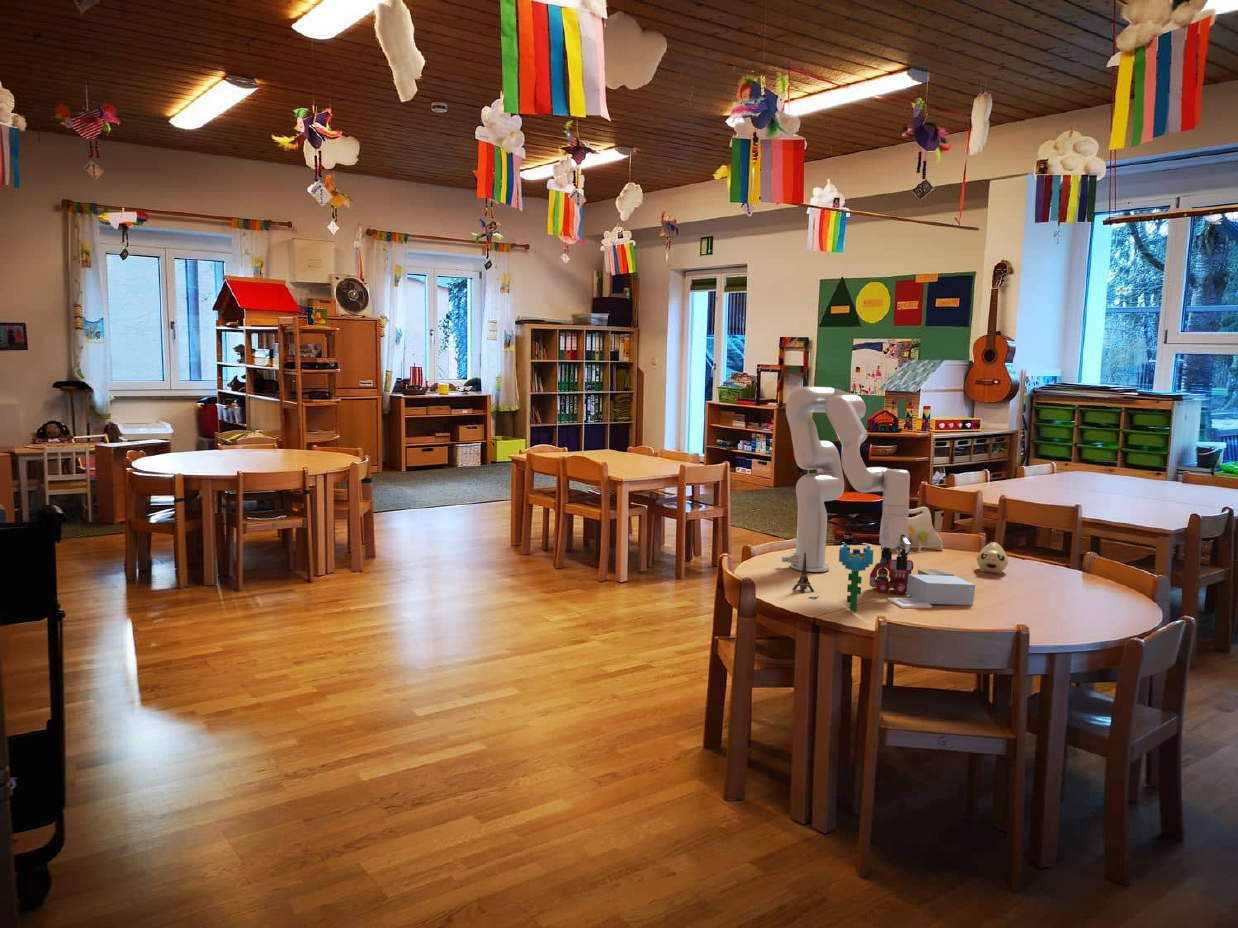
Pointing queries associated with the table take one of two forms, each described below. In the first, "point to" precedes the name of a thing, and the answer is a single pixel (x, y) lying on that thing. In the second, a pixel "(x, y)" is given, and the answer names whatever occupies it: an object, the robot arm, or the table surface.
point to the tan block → (934, 572)
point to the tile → (909, 603)
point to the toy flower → (855, 570)
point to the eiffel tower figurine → (804, 579)
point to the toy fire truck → (890, 576)
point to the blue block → (940, 589)
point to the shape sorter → (922, 531)
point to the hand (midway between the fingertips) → (893, 566)
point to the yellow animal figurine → (992, 558)
